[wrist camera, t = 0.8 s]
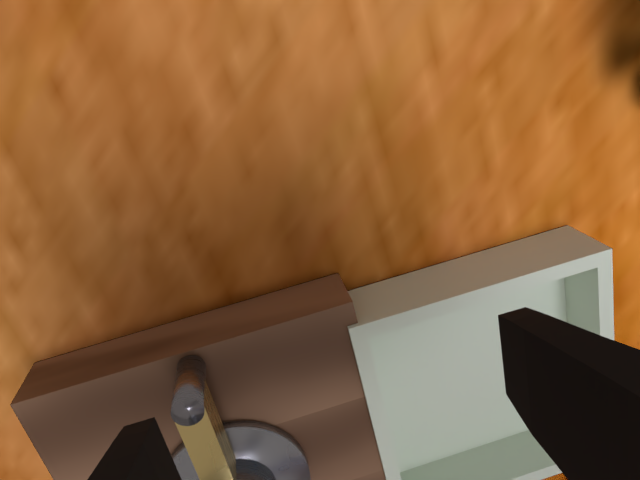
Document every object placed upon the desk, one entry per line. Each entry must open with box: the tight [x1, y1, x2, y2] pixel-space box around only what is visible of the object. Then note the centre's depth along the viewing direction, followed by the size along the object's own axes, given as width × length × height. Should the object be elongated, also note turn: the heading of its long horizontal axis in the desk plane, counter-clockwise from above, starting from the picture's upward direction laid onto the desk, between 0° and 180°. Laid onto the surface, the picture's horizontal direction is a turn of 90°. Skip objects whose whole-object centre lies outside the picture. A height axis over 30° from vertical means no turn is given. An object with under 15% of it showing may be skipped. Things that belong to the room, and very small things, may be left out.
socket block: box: [10, 273, 386, 480], centre depth 22 cm, size 12×12×2 cm
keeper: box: [171, 355, 237, 480], centre depth 18 cm, size 4×1×2 cm, turn 14°
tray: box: [347, 225, 614, 480], centre depth 22 cm, size 10×10×3 cm
